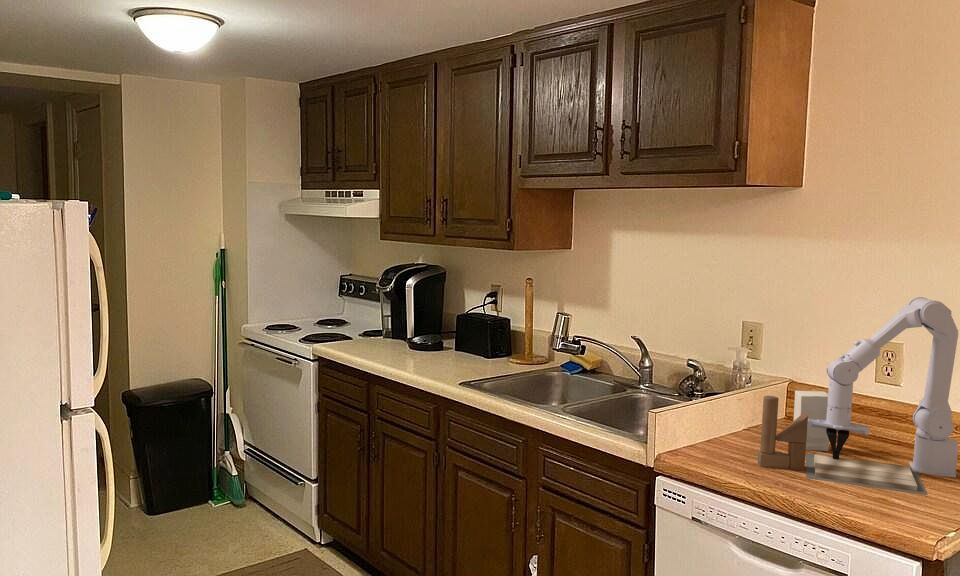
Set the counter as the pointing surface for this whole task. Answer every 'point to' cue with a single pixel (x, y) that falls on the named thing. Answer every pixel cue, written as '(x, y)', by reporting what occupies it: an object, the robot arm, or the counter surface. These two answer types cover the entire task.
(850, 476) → the laid plank
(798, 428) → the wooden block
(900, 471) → the loose plank
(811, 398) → the skincare box
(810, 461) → the underlay mat
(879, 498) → the counter surface
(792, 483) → the counter surface
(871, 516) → the counter surface
